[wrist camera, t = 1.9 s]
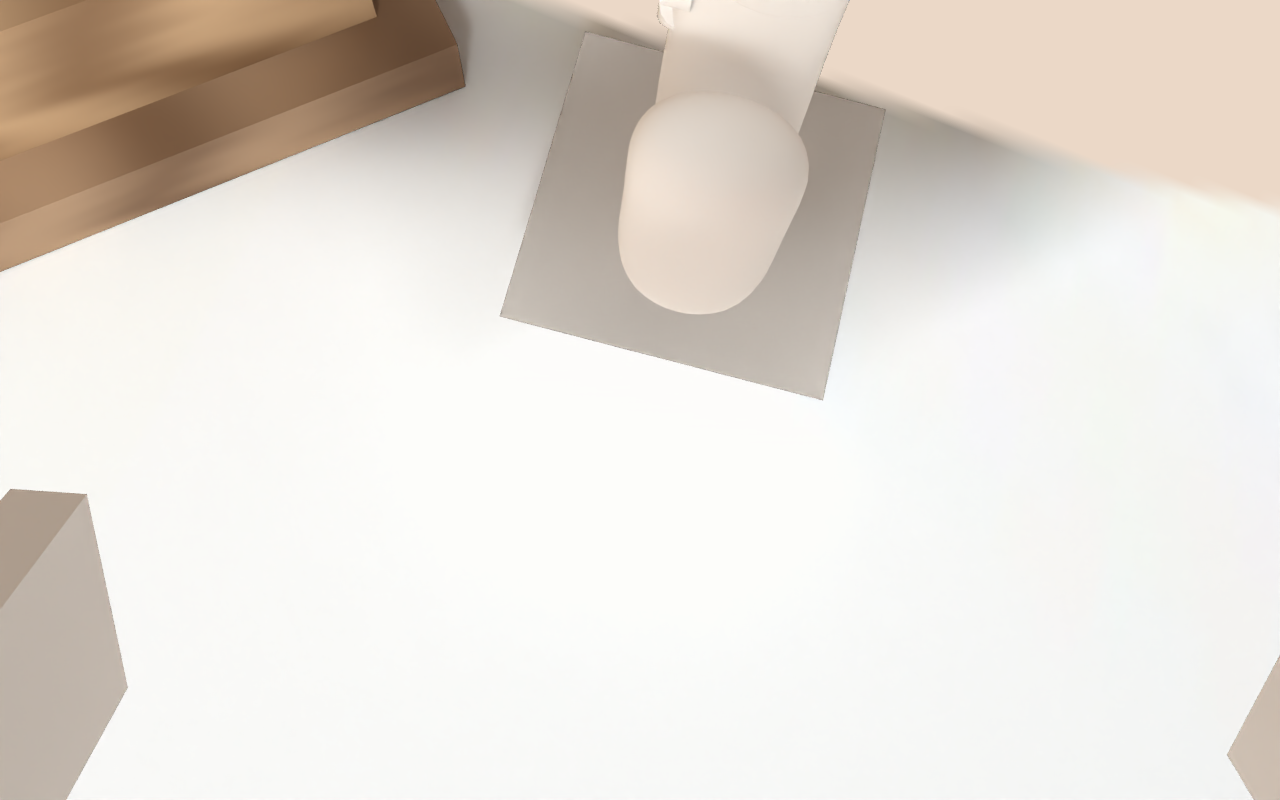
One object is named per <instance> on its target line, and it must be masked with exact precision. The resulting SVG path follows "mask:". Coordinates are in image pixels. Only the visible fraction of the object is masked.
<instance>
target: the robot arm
mask: <svg viewBox="0 0 1280 800" xmlns="http://www.w3.org/2000/svg"><path fill="white" fill-rule="evenodd" d="M127 688H128V686H127V682H126V677H125V672H124V668H123V663H122V658H121V653H120V649H119V644H118V639H117V635H116V630H115V625H114V620H113V616H112V611H111V606H110V602H109V597H108V592H107V587H106V583H105V578H104V573H103V569H102V564H101V559H100V554H99V550H98V545H97V540H96V536H95V531H94V526H93V522H92V517H91V512H90V507H89V503H88V498H87V494H75V493H61V492H46V491H32V490H17V489H10V490H9V491H8V493H7V494H6V495H5V496H4V497H3V498H2V500H1V501H0V800H66V799H67V797H68V796H69V794H70V792H71V790H72V788H73V786H74V785H75V783H76V781H77V779H78V777H79V775H80V774H81V772H82V770H83V768H84V766H85V765H86V763H87V761H88V759H89V757H90V755H91V754H92V752H93V750H94V748H95V746H96V744H97V743H98V741H99V739H100V737H101V735H102V734H103V732H104V730H105V728H106V726H107V724H108V723H109V721H110V719H111V717H112V715H113V714H114V712H115V710H116V708H117V706H118V704H119V703H120V701H121V699H122V697H123V695H124V693H125V692H126V690H127ZM1227 756H1228V757H1229V759H1230V761H1231V762H1232V764H1233V766H1234V767H1235V769H1236V771H1237V772H1238V774H1239V776H1240V777H1241V779H1242V781H1243V783H1244V784H1245V786H1246V788H1247V789H1248V791H1249V793H1250V794H1251V796H1252V798H1253V799H1254V800H1280V656H1279V658H1278V660H1277V661H1276V663H1275V665H1274V667H1273V669H1272V671H1271V673H1270V675H1269V677H1268V678H1267V680H1266V682H1265V684H1264V686H1263V688H1262V690H1261V692H1260V694H1259V695H1258V697H1257V699H1256V701H1255V703H1254V705H1253V707H1252V709H1251V711H1250V712H1249V714H1248V716H1247V718H1246V720H1245V722H1244V724H1243V726H1242V727H1241V729H1240V731H1239V733H1238V735H1237V737H1236V739H1235V741H1234V743H1233V744H1232V746H1231V748H1230V750H1229V752H1228V754H1227Z"/></svg>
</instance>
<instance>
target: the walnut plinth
mask: <svg viewBox="0 0 1280 800" xmlns="http://www.w3.org/2000/svg"><path fill="white" fill-rule="evenodd" d="M462 87H465V83H464V77H463V72H462V66H461V61H460V56H459V50H458V45H457V43H456V41H455V39H454V37H453V35H452V33H451V30H450V28H449V26H448V24H447V22H446V20H445V18H444V16H443V14H442V12H441V10H440V8H439V6H438V4H437V2H436V0H0V272H1V271H4V270H6V269H9V268H11V267H14V266H16V265H19V264H21V263H24V262H26V261H29V260H31V259H34V258H36V257H39V256H41V255H44V254H46V253H49V252H51V251H54V250H56V249H59V248H61V247H64V246H66V245H69V244H71V243H74V242H76V241H79V240H81V239H84V238H86V237H89V236H91V235H94V234H96V233H99V232H101V231H104V230H106V229H109V228H111V227H114V226H116V225H119V224H121V223H124V222H126V221H129V220H131V219H134V218H136V217H139V216H142V215H144V214H147V213H149V212H152V211H154V210H157V209H159V208H162V207H164V206H167V205H169V204H172V203H174V202H177V201H179V200H182V199H184V198H187V197H189V196H192V195H194V194H197V193H199V192H202V191H204V190H207V189H209V188H212V187H214V186H217V185H219V184H222V183H224V182H227V181H229V180H232V179H234V178H237V177H239V176H242V175H244V174H247V173H249V172H252V171H254V170H257V169H259V168H262V167H264V166H267V165H269V164H272V163H274V162H277V161H279V160H282V159H284V158H287V157H289V156H292V155H294V154H297V153H299V152H302V151H304V150H307V149H309V148H312V147H315V146H317V145H320V144H322V143H325V142H327V141H330V140H332V139H335V138H337V137H340V136H342V135H345V134H347V133H350V132H352V131H355V130H357V129H360V128H362V127H365V126H367V125H370V124H372V123H375V122H377V121H380V120H382V119H385V118H387V117H390V116H392V115H395V114H397V113H400V112H402V111H405V110H407V109H410V108H412V107H415V106H417V105H420V104H422V103H425V102H427V101H430V100H432V99H435V98H437V97H440V96H442V95H445V94H447V93H450V92H452V91H455V90H457V89H460V88H462Z"/></svg>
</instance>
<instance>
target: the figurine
mask: <svg viewBox="0 0 1280 800" xmlns="http://www.w3.org/2000/svg"><path fill="white" fill-rule="evenodd" d="M849 1H850V0H660V1H659V6H658V15H657V17H658V20H659V22H660V24H662V25H663V26H665V27H666V28H668V32H667V37H666V43H665V48H664V52H663V51H659V50H655V49H651V48H647V47H643V46H639V45H636V44H632V43H628V42H624V41H620V40H616V39H612V38H609V37H605V36H601V35H597V34H593V33H589V32H585V34H584V37H583V41H582V44H581V47H580V51H579V54H578V57H577V61H576V64H575V67H574V71H573V74H572V77H571V81H570V84H569V87H568V91H567V94H566V97H565V101H564V104H563V107H562V111H561V114H560V117H559V121H558V124H557V127H556V131H555V134H554V137H553V141H552V144H551V147H550V151H549V154H548V157H547V161H546V164H545V167H544V171H543V174H542V177H541V181H540V184H539V187H538V191H537V194H536V197H535V201H534V204H533V207H532V210H531V214H530V217H529V220H528V224H527V227H526V230H525V234H524V237H523V240H522V244H521V247H520V250H519V254H518V257H517V260H516V264H515V267H514V270H513V274H512V277H511V280H510V284H509V287H508V290H507V294H506V297H505V300H504V304H503V307H502V310H501V314H500V317H504V318H508V319H511V320H515V321H519V322H523V323H527V324H531V325H535V326H538V327H542V328H546V329H550V330H554V331H558V332H562V333H565V334H569V335H573V336H577V337H581V338H585V339H588V340H592V341H596V342H600V343H604V344H608V345H612V346H615V347H619V348H623V349H627V350H631V351H635V352H639V353H642V354H646V355H650V356H654V357H658V358H662V359H665V360H669V361H673V362H677V363H681V364H685V365H689V366H692V367H696V368H700V369H704V370H708V371H712V372H716V373H719V374H723V375H727V376H731V377H735V378H739V379H742V380H746V381H750V382H754V383H758V384H762V385H766V386H769V387H773V388H777V389H781V390H785V391H789V392H793V393H796V394H800V395H804V396H808V397H812V398H816V399H819V400H823V398H824V393H825V388H826V384H827V379H828V375H829V370H830V365H831V361H832V356H833V351H834V347H835V342H836V337H837V333H838V328H839V323H840V319H841V314H842V310H843V305H844V300H845V296H846V291H847V286H848V282H849V277H850V272H851V268H852V263H853V258H854V254H855V249H856V245H857V240H858V235H859V231H860V226H861V221H862V217H863V212H864V207H865V203H866V198H867V194H868V189H869V184H870V180H871V175H872V170H873V166H874V161H875V156H876V152H877V147H878V142H879V138H880V133H881V129H882V124H883V119H884V115H885V110H886V109H882V108H878V107H875V106H871V105H867V104H863V103H859V102H855V101H851V100H848V99H844V98H840V97H836V96H832V95H828V94H824V93H821V92H817V91H814V90H815V87H816V84H817V81H818V79H819V76H820V73H821V71H822V68H823V65H824V62H825V60H826V57H827V54H828V52H829V49H830V47H831V44H832V42H833V39H834V36H835V34H836V31H837V29H838V26H839V24H840V22H841V19H842V17H843V14H844V12H845V10H846V7H847V5H848V3H849Z"/></svg>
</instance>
